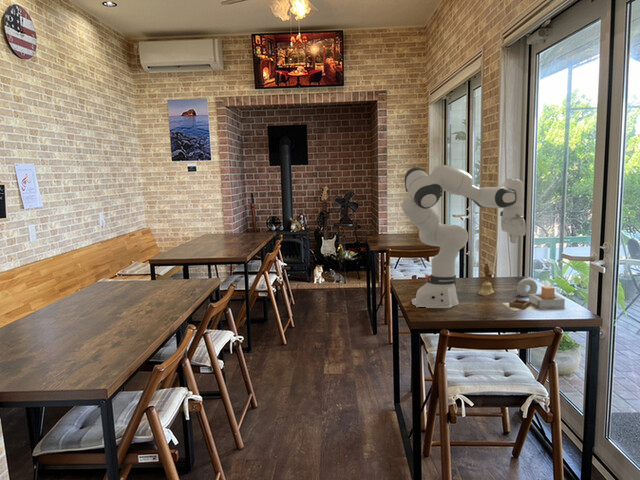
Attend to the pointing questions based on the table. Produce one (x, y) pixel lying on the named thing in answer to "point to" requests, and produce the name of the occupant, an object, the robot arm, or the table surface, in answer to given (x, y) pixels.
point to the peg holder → (519, 304)
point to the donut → (523, 283)
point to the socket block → (546, 301)
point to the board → (525, 308)
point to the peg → (547, 292)
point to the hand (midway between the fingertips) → (513, 242)
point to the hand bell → (486, 283)
